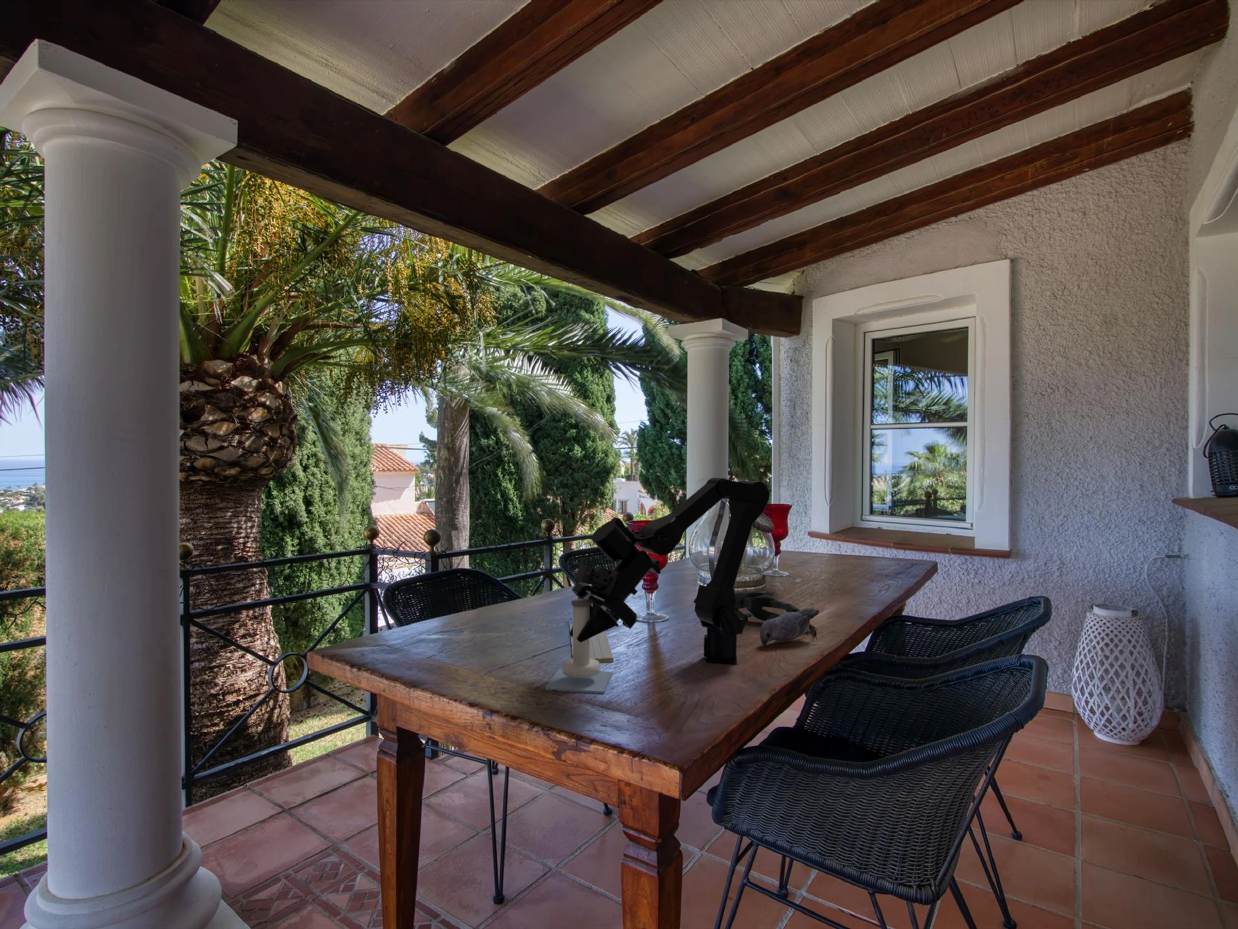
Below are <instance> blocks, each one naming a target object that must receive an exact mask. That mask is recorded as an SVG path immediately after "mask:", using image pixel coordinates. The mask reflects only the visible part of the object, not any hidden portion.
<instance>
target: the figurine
mask: <svg viewBox="0 0 1238 929" xmlns="http://www.w3.org/2000/svg"><path fill="white" fill-rule="evenodd" d="M734 592H735V597H736V607H735V614H736V615H737V616H738V617H739V618H740V619H741V620H742V621H743V622H744V621H745V622H747V621H748V620H749V615H752V616H753V617H754V618H755V619H757V620H760V621H763V622H765V621H767V620H769V619H773V618H776V617H779V616H781V614H778V613H776V612H773V611H768V610H766V609H763V608H771V609H779V610H785V613H789V612H797V611H800V610H801V609H800V608H797V607H796V606H794V605H793V604H791V603H789V602H788V603H786V602H783V601H781V600H778V599H776V598H773V597H774V596H775V593H774V592H772V591H764V592H763V591H762V592H760V591H751V592H745V591H740V590H734ZM744 608H745V609H746V610H747V611H748V612H742V611H741V610H740V609H744ZM815 610H816V611H815V612H814V613H813V614H811V615H810V620H813V619H814V618H815V617H817V616H818V615H819V614H820V609H815ZM809 629H810V630H811V632H815V630H816V627H815V626H814V625H813V624H811V623H810V626H809Z"/></svg>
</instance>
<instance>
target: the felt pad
mask: <svg viewBox="0 0 1238 929" xmlns="http://www.w3.org/2000/svg"><path fill="white" fill-rule="evenodd" d="M613 674H614V672H613V671H604V670H603V671H602V670H599V673H598V674H597V675H595V676H593V677H588V678H573V677H568V676H566V675H564V674H563V668H558V669H557V671H556V673H555V674H554V675H553V676H552V678H551V679H550V681H549V682H548V684H546V686H545V687H544V688H545V689H546V690H545V689H544V690H545V691H552V690H557V691H556V692H568V691H569V692H572V693H585V694H586V693H587V694H601V695H604V694H605V693H606V690H607V688H608V685H609V684H610V681H611V679H612V678H613ZM547 689H548V690H547ZM569 692H568V693H569Z"/></svg>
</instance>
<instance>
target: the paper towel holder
mask: <svg viewBox="0 0 1238 929" xmlns="http://www.w3.org/2000/svg"><path fill="white" fill-rule="evenodd" d="M570 602H571V603H570V604H571V606H572V624H573V657H572V658H569V659H566V660H565V661H563V662H562V669H563V674H564V675H566V676H568V677H573V678H588V677H593V676H595V675H597V674H598V673H599V671H600V662H598V661H597V660H594V659H590V638H589V639H587V640H585V641H583V642H579V641H578V640H577V637H578V635H579V634H580V632H581V630H582V629H583V627H584V626H585V625H586V623H587V622H588V620H589V619H590V605H591V600H588V599H578V598H577V599H572V600H571V601H570Z"/></svg>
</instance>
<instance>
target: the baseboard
mask: <svg viewBox="0 0 1238 929" xmlns="http://www.w3.org/2000/svg"><path fill="white" fill-rule="evenodd" d="M569 620H570V621H572V618H571V617H570V618H569ZM569 620H568V621H565V622H564V623H565V624H566V625H568V626H569V632H570V631H571V629H572V626H573V623H569ZM570 645H572V647H571V653H572V656H573V637H571V636H570ZM572 656H571V657H572ZM590 659H594V660H597V661H598V662H599V663H614V656H613V651H612V649H611V644H610V642H609V638H608V635H607V630H606V631H604V632H602V633H599V634H597V635H595V636H593V637H591V638H590Z"/></svg>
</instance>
